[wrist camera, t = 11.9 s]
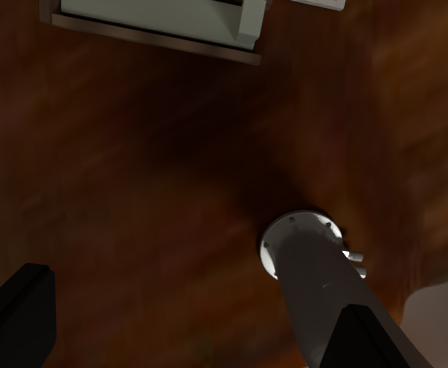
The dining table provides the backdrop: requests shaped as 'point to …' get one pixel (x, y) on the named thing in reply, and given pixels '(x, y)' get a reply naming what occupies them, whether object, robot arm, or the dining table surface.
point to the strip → (180, 18)
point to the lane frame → (144, 34)
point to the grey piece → (325, 3)
